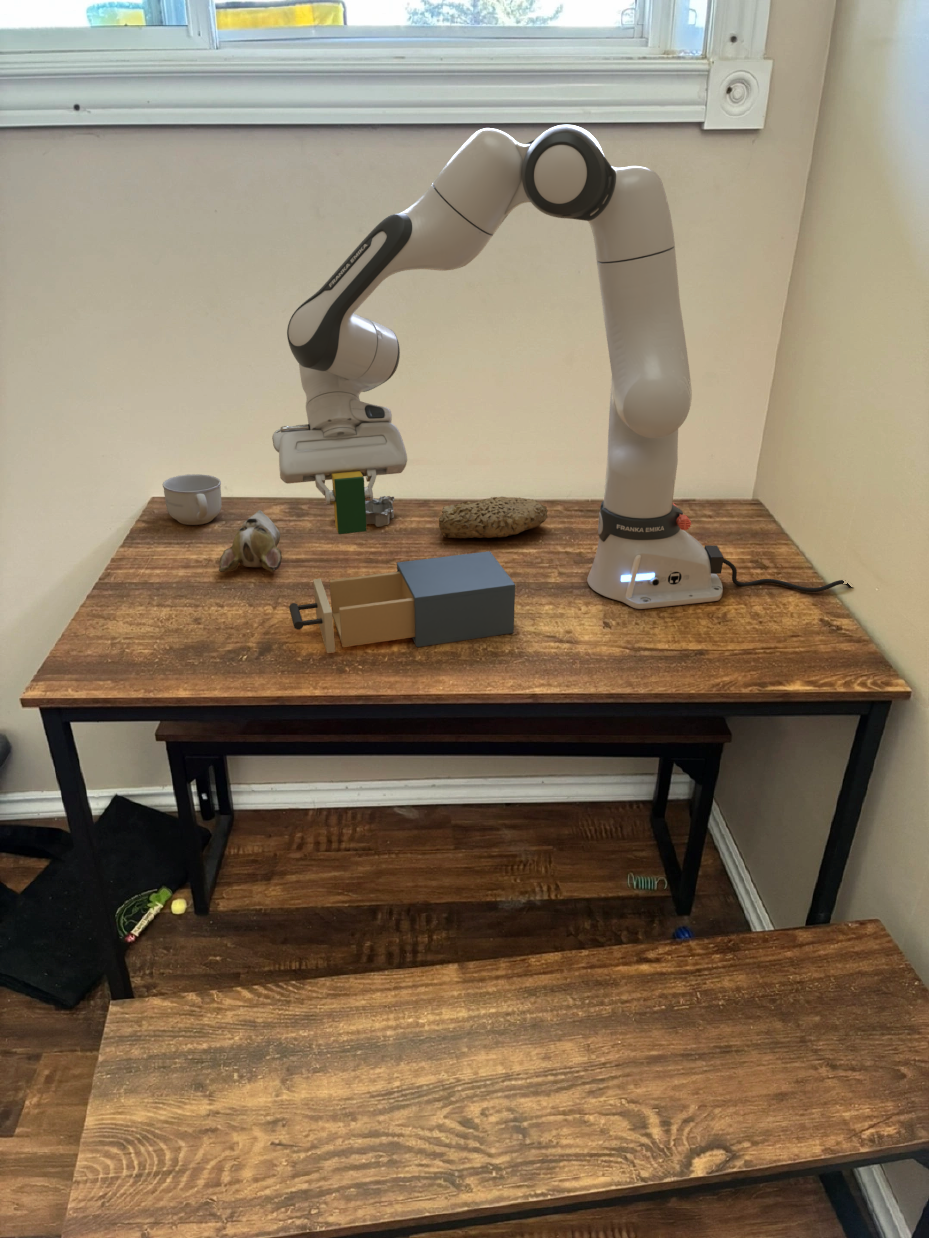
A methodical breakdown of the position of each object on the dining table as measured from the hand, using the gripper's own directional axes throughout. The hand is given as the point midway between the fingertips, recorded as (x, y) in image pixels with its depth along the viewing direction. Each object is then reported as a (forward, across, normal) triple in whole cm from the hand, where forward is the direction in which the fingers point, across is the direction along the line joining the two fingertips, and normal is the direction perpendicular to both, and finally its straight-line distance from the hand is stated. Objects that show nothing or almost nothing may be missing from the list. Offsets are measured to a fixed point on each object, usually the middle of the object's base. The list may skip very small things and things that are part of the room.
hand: (350, 501), depth 138 cm
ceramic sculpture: (0, -15, +24) cm, 28 cm away
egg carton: (-10, +8, +34) cm, 37 cm away
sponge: (-1, +30, +25) cm, 39 cm away
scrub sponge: (+3, 0, +4) cm, 5 cm away
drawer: (+20, -2, +2) cm, 20 cm away
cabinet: (+21, +14, +3) cm, 25 cm away
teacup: (-16, -24, +40) cm, 49 cm away
